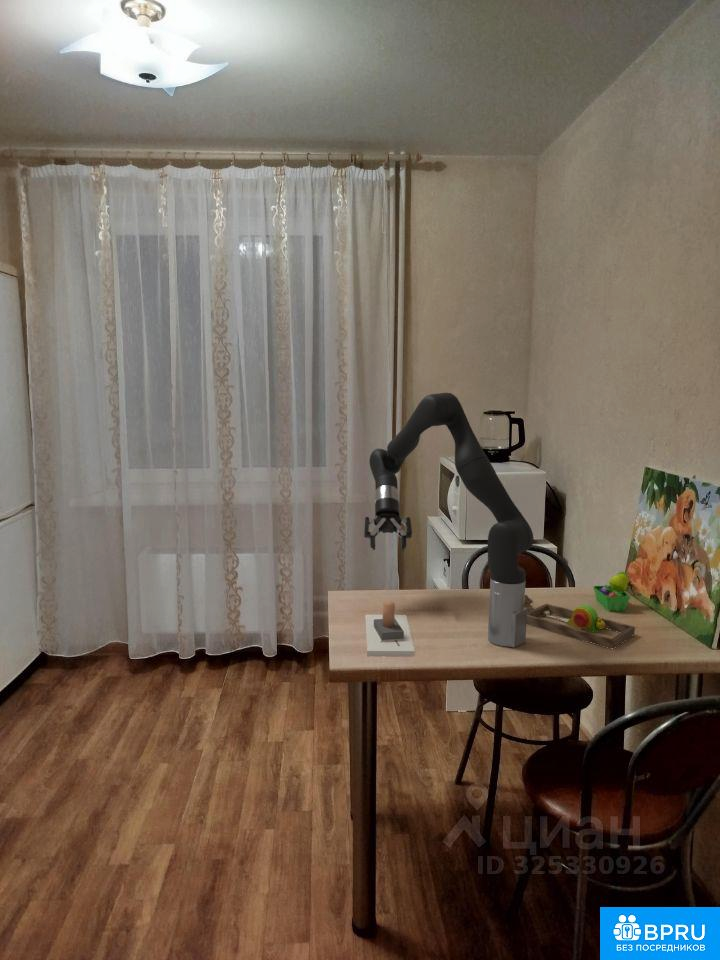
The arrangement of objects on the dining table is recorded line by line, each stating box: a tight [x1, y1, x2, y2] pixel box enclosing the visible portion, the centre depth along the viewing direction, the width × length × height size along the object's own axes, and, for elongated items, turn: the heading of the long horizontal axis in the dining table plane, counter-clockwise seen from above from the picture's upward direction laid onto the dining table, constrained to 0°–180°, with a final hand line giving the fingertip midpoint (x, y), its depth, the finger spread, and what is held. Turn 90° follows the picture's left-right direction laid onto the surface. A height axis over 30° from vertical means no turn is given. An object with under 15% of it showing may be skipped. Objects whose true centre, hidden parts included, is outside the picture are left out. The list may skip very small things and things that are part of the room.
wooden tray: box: [526, 603, 636, 650], centre depth 186 cm, size 27×14×2 cm, turn 46°
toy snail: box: [542, 604, 605, 633], centre depth 190 cm, size 6×20×7 cm, turn 41°
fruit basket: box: [592, 571, 631, 612], centre depth 204 cm, size 11×9×11 cm
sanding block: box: [374, 601, 404, 641], centre depth 177 cm, size 10×6×8 cm, turn 11°
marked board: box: [365, 614, 415, 658], centre depth 179 cm, size 26×12×2 cm, turn 1°
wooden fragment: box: [524, 594, 535, 612], centre depth 209 cm, size 26×11×1 cm, turn 173°
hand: (388, 548), depth 192 cm, fingers open, 8 cm apart
